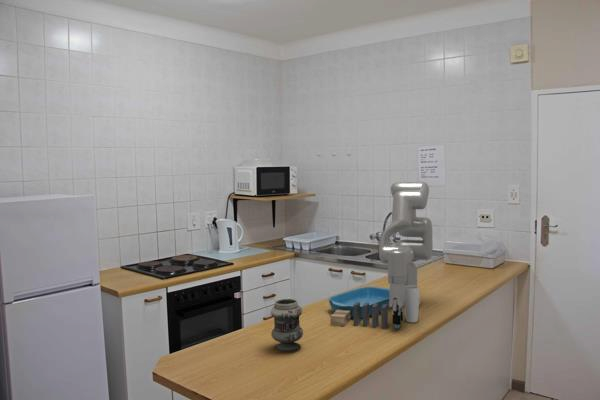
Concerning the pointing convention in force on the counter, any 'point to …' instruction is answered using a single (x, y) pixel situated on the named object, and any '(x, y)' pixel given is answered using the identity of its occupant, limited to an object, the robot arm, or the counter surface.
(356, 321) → the domino
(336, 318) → the oak block
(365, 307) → the domino
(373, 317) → the domino
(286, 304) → the apothecary jar
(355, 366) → the counter surface
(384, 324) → the domino
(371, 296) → the casserole dish
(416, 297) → the drinking glass
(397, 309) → the domino teal
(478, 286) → the counter surface
